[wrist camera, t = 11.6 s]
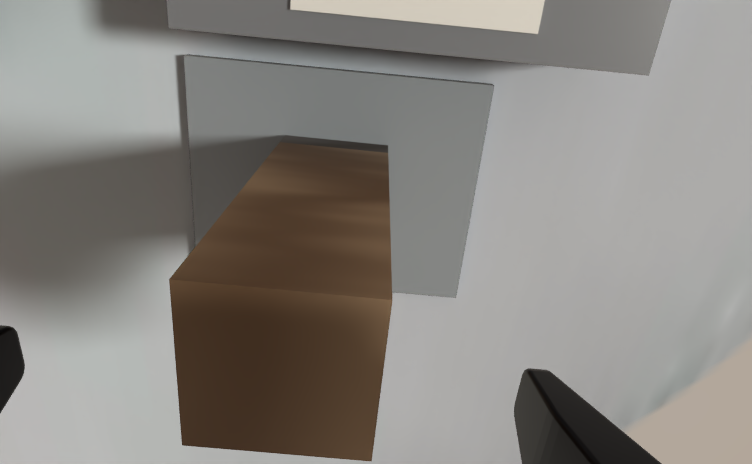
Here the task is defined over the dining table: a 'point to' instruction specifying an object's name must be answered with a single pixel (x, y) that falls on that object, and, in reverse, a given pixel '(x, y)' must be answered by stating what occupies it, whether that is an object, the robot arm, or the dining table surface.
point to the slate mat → (355, 124)
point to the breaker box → (451, 27)
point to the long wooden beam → (290, 307)
